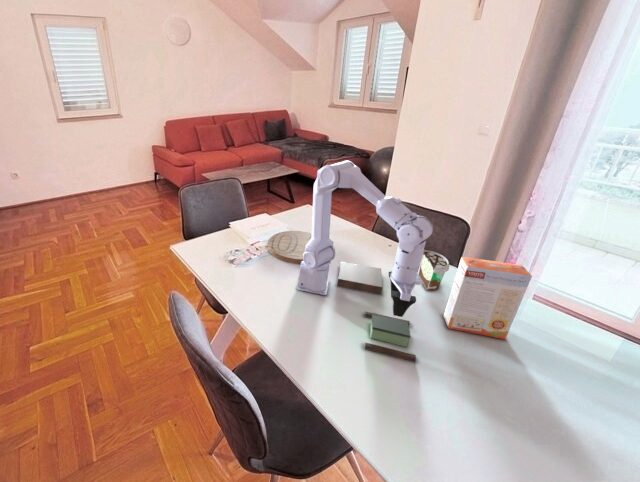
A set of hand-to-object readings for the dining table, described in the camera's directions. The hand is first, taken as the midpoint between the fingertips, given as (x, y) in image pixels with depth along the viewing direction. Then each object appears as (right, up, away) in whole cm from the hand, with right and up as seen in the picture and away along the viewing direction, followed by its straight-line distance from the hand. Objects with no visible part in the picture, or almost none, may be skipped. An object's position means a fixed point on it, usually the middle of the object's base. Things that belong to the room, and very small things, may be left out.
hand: (396, 306), depth 84 cm
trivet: (-18, +11, +48) cm, 53 cm away
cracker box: (+24, -8, +5) cm, 26 cm away
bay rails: (-1, -9, +2) cm, 9 cm away
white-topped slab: (0, +2, +26) cm, 26 cm away
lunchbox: (-1, -9, +2) cm, 9 cm away
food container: (+25, +1, +25) cm, 35 cm away
